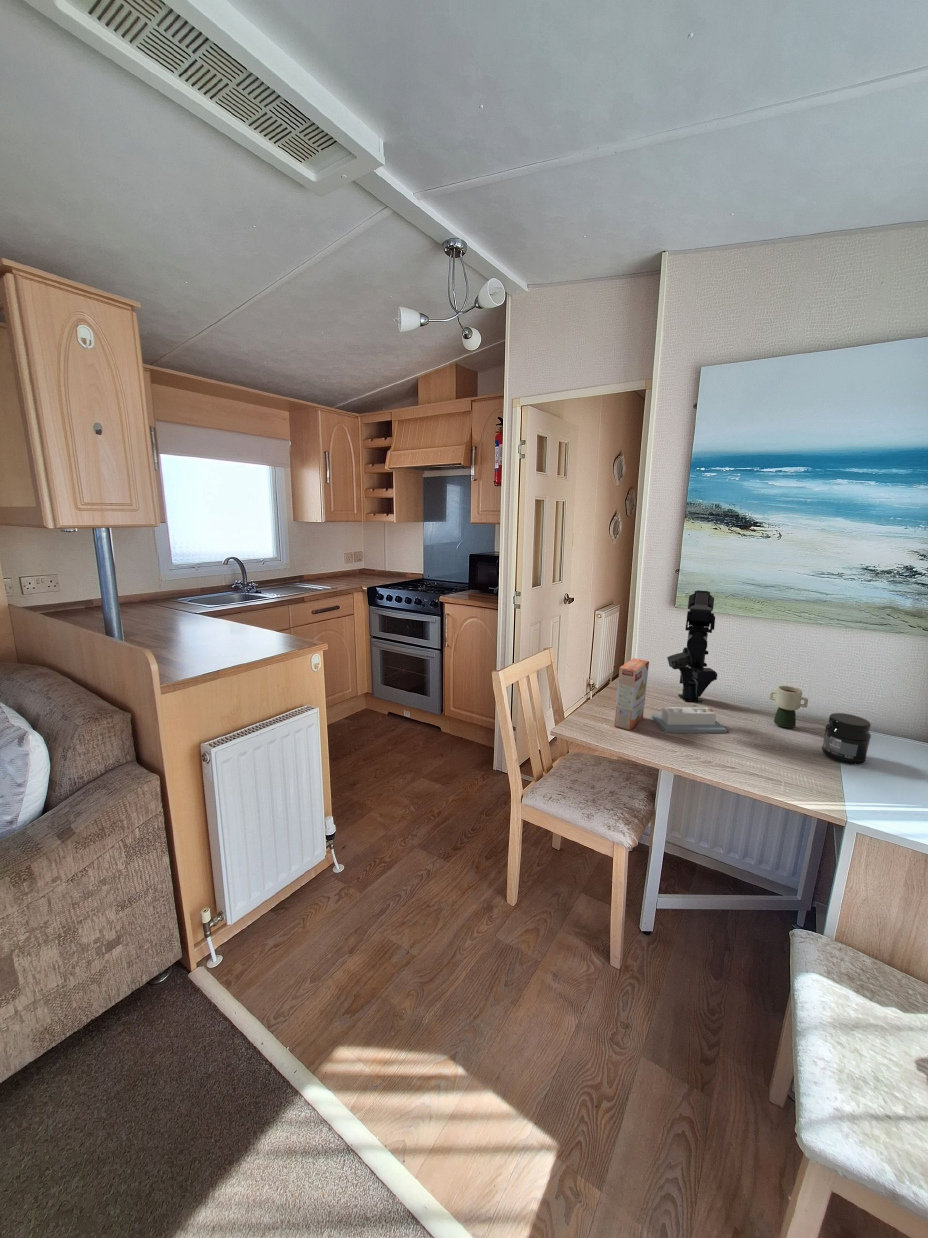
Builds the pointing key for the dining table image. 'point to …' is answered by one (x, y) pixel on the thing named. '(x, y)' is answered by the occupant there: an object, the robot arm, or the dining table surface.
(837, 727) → the supplement container
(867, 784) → the dining table surface
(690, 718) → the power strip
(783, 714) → the character mug
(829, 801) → the dining table surface
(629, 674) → the cracker box
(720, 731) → the stud board
